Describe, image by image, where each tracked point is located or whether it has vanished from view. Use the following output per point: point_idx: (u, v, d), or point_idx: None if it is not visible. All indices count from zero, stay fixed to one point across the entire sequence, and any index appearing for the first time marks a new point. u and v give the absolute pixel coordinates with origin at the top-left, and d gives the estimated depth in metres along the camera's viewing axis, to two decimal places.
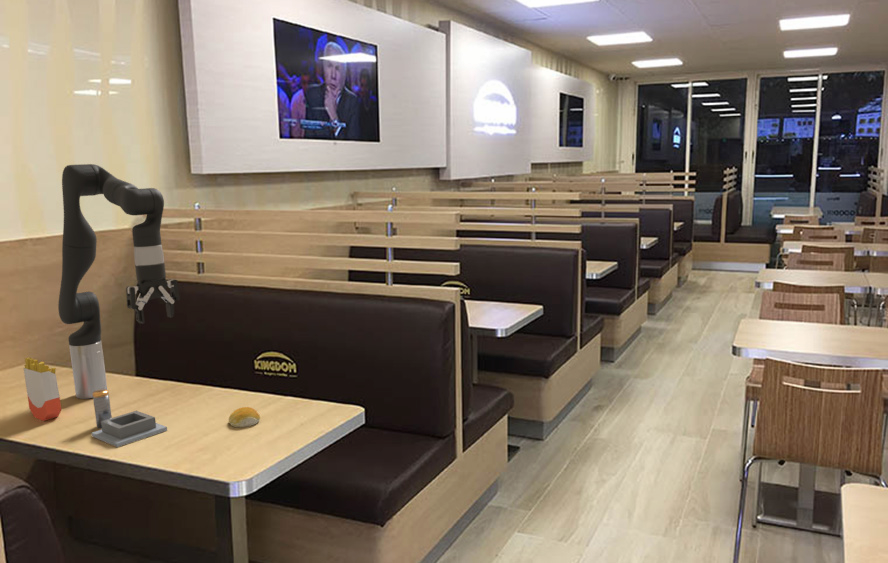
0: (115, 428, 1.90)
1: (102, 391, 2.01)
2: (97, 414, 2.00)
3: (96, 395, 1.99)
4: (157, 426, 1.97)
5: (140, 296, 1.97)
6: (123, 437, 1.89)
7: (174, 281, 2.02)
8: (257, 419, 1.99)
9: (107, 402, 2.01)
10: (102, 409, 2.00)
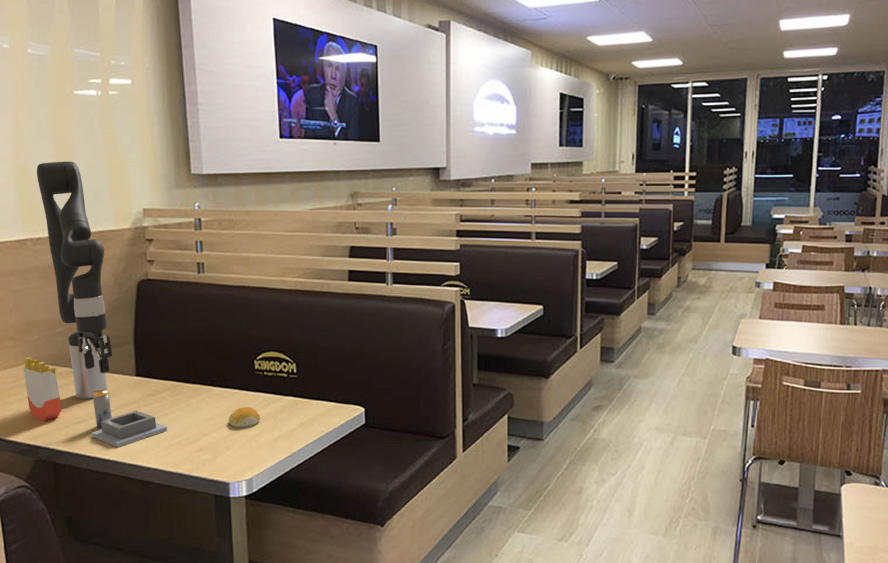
0: (115, 428, 1.90)
1: (102, 391, 2.01)
2: (97, 414, 2.00)
3: (96, 395, 1.99)
4: (157, 426, 1.97)
5: None
6: (123, 437, 1.89)
7: None
8: (257, 419, 1.99)
9: (107, 402, 2.01)
10: (102, 409, 2.00)
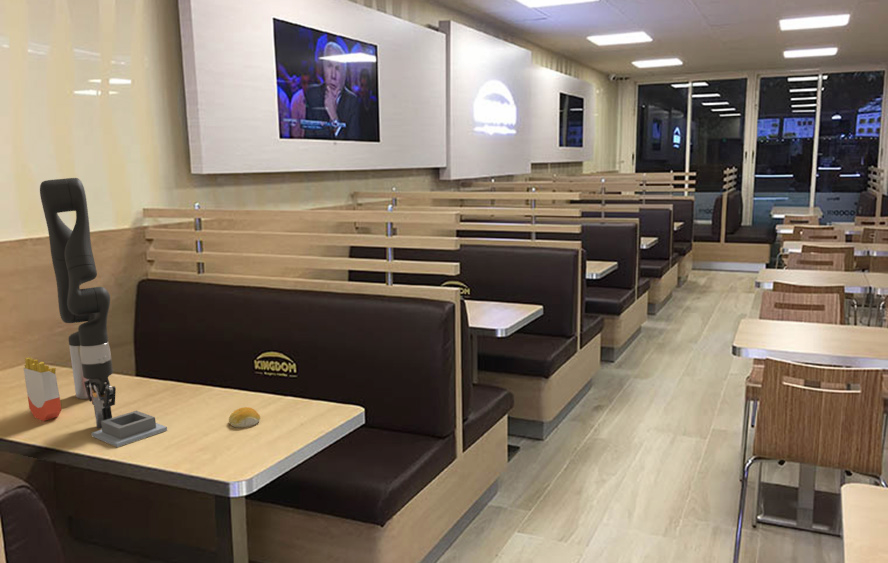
0: (115, 428, 1.90)
1: None
2: (97, 414, 2.00)
3: (96, 395, 1.99)
4: (157, 426, 1.97)
5: None
6: (123, 437, 1.89)
7: None
8: (257, 419, 1.99)
9: None
10: None
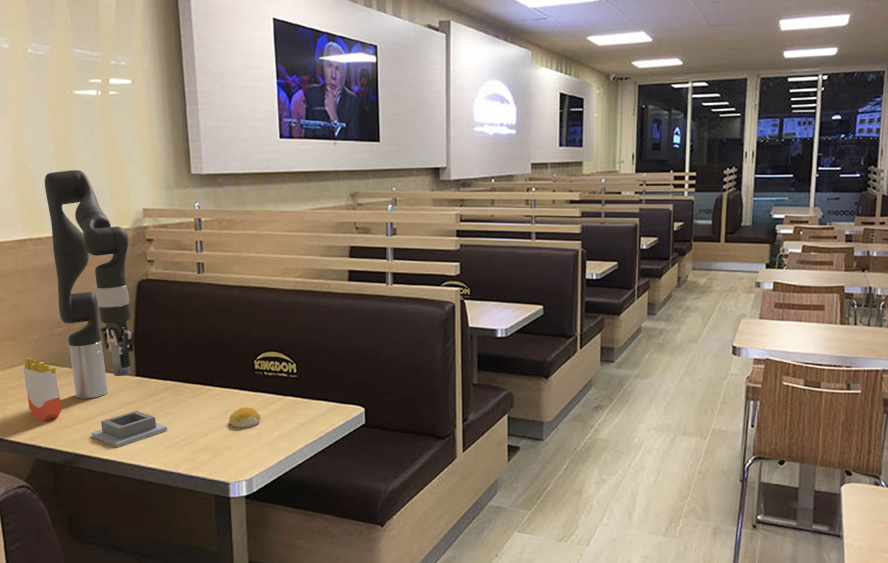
0: (115, 428, 1.90)
1: None
2: (114, 361, 1.91)
3: (113, 341, 1.90)
4: (157, 426, 1.97)
5: None
6: (123, 437, 1.89)
7: None
8: (258, 419, 1.98)
9: None
10: None
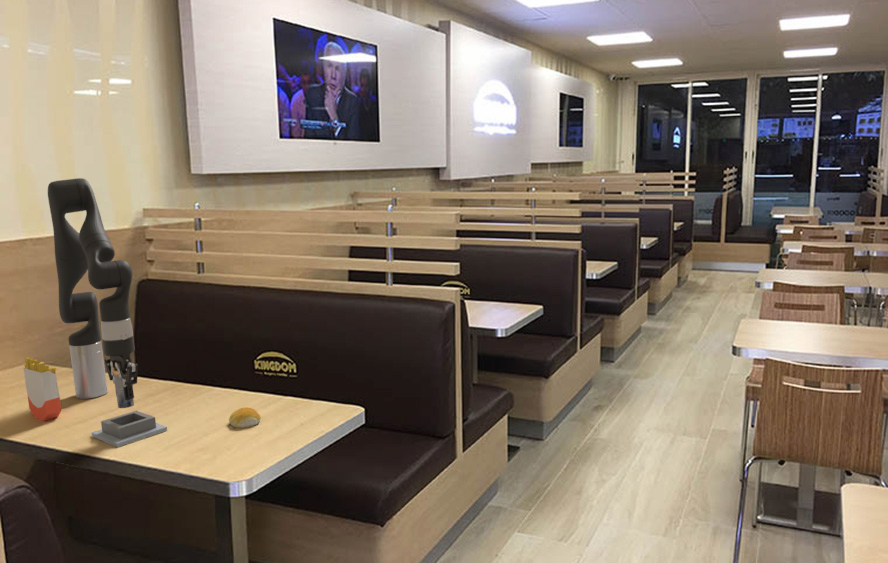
0: (115, 428, 1.90)
1: None
2: (118, 393, 1.92)
3: (117, 373, 1.91)
4: (157, 426, 1.97)
5: None
6: (123, 437, 1.89)
7: None
8: (258, 419, 1.98)
9: None
10: None
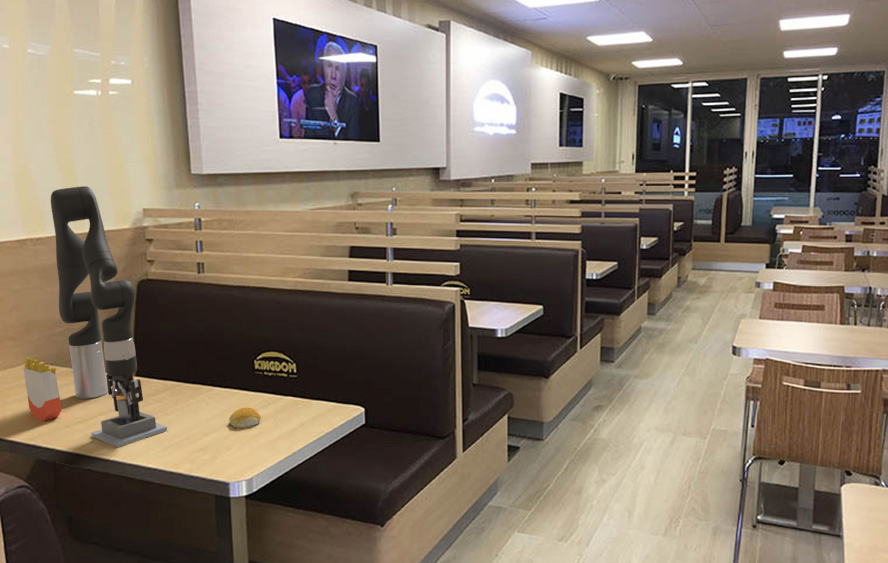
0: (115, 428, 1.90)
1: None
2: (121, 418, 1.93)
3: (120, 398, 1.92)
4: (157, 426, 1.97)
5: None
6: (123, 437, 1.89)
7: None
8: (258, 419, 1.98)
9: None
10: (127, 412, 1.93)
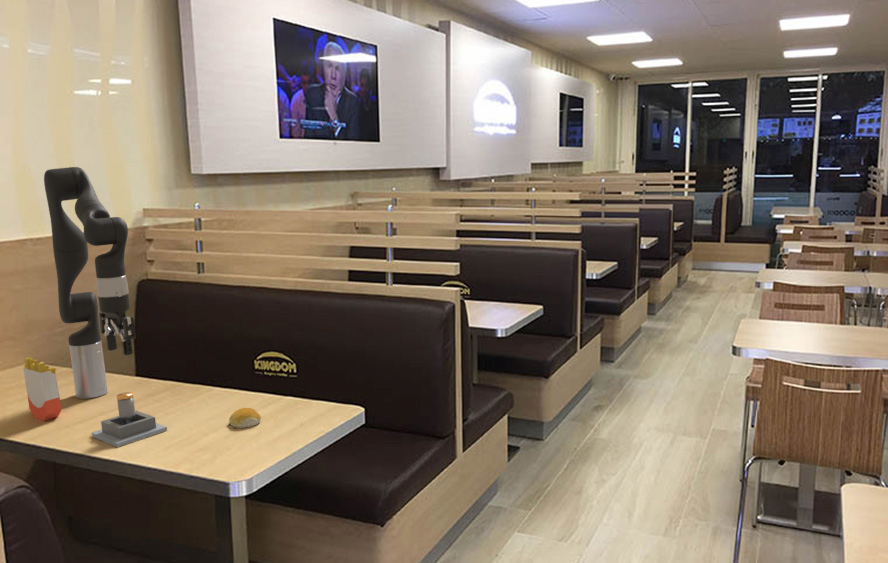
0: (115, 428, 1.90)
1: (126, 394, 1.94)
2: (121, 418, 1.93)
3: (120, 398, 1.92)
4: (157, 426, 1.97)
5: None
6: (123, 437, 1.89)
7: None
8: (258, 419, 1.98)
9: (132, 405, 1.94)
10: (127, 412, 1.93)
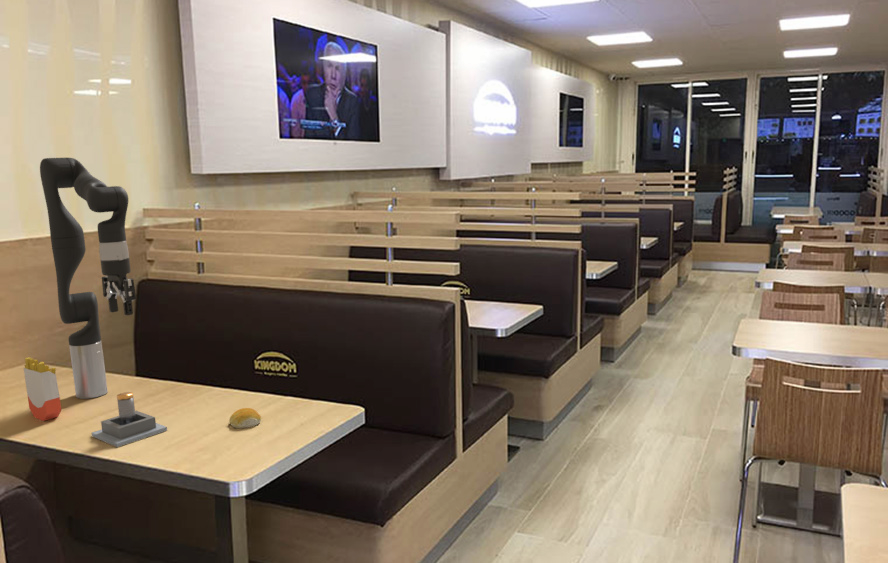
0: (115, 428, 1.90)
1: (127, 394, 1.94)
2: (121, 417, 1.93)
3: (121, 398, 1.92)
4: (157, 426, 1.97)
5: None
6: (123, 437, 1.89)
7: None
8: (258, 420, 1.98)
9: (132, 405, 1.94)
10: (127, 412, 1.93)
